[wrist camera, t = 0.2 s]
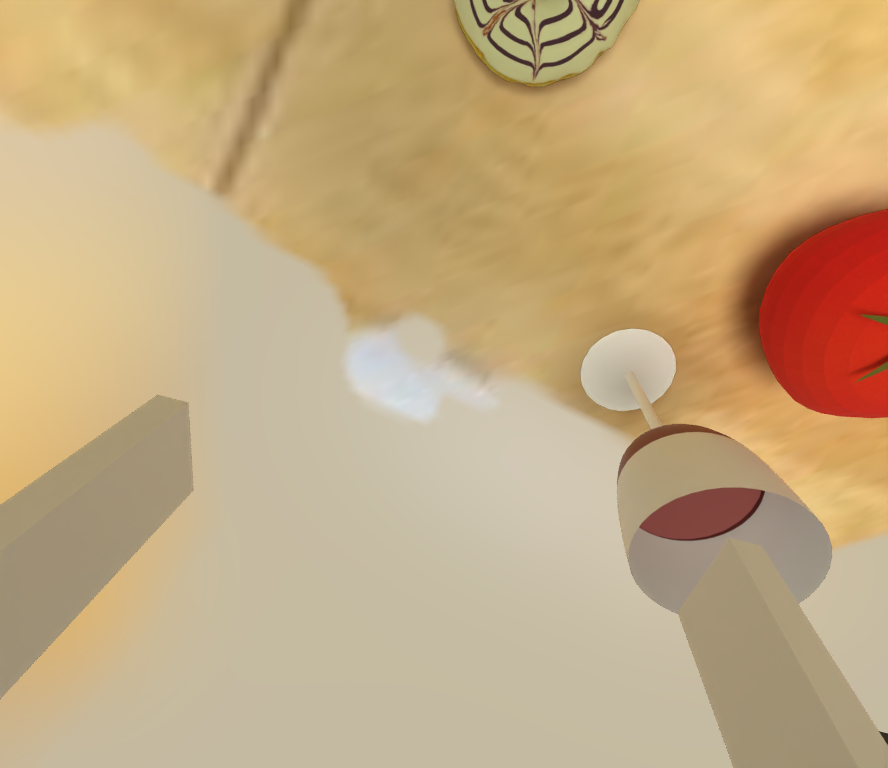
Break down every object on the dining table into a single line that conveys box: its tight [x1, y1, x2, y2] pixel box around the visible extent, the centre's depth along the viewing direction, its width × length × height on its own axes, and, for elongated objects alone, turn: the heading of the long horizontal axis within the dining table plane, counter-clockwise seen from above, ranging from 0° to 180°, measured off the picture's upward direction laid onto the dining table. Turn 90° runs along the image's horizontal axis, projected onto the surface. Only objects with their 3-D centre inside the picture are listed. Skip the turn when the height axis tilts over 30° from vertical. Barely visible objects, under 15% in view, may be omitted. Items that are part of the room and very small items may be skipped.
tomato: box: [759, 209, 888, 418], centre depth 29 cm, size 12×14×11 cm
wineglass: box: [580, 328, 832, 614], centre depth 30 cm, size 8×9×20 cm
